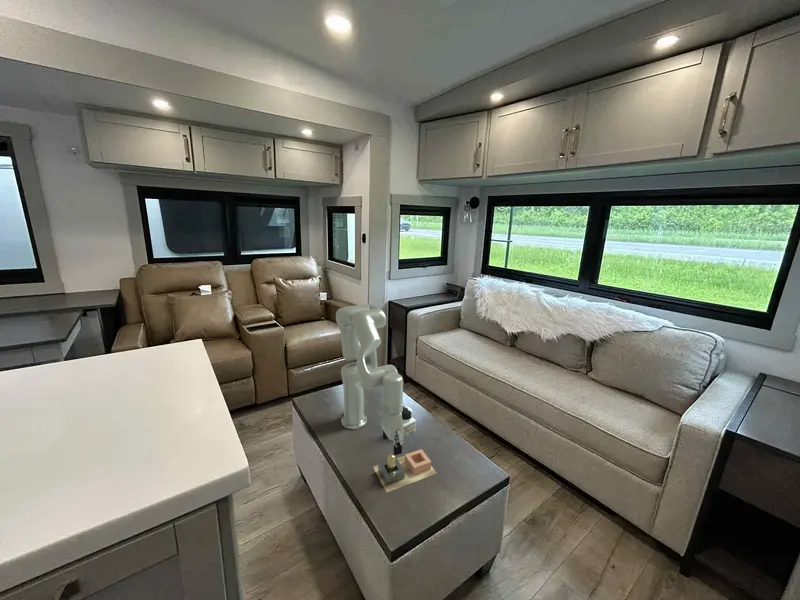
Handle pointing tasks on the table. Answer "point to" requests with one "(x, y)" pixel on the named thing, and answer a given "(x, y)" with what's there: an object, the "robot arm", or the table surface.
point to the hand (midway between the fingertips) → (392, 445)
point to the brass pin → (391, 463)
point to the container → (408, 421)
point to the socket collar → (417, 467)
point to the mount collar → (392, 476)
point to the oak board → (408, 476)
